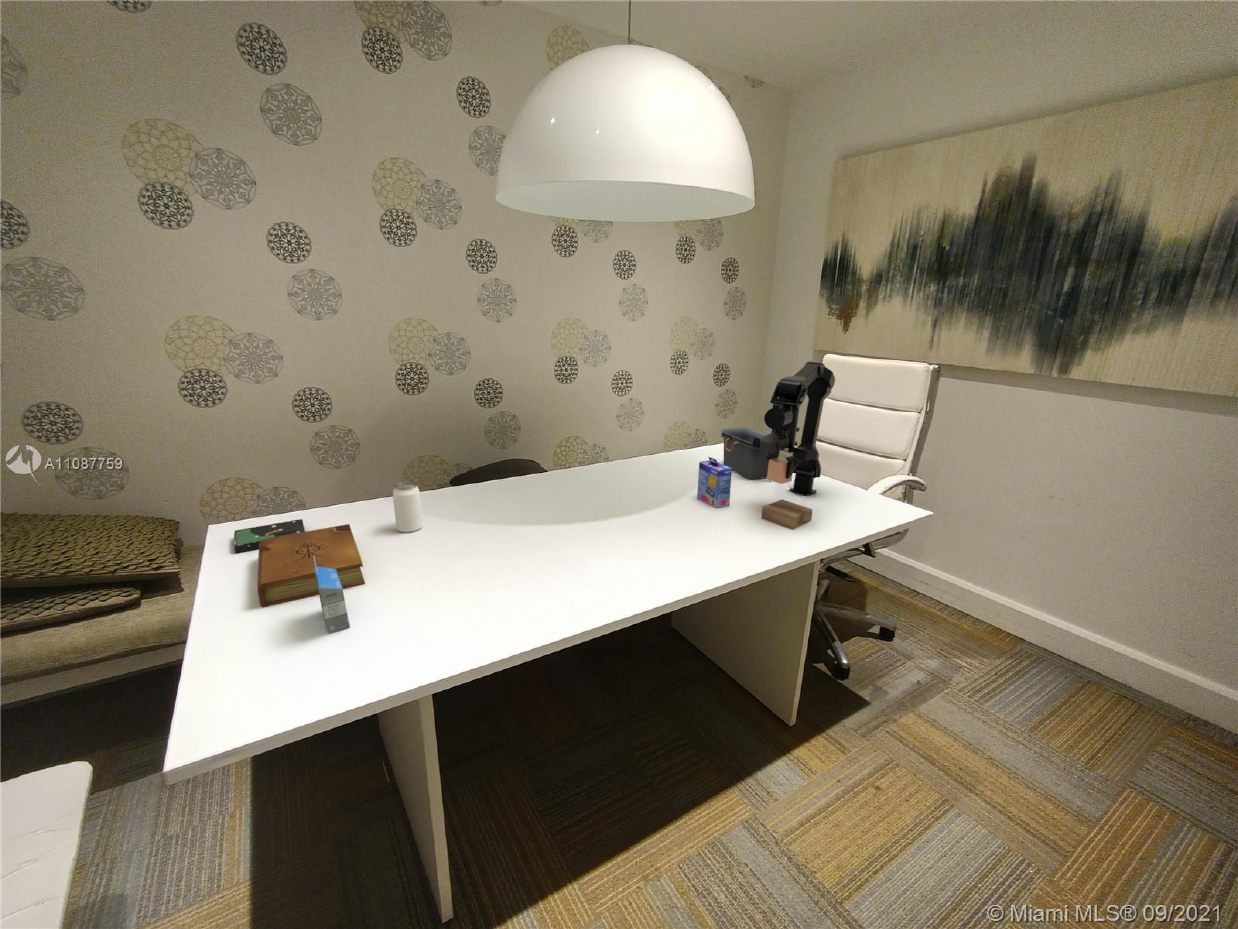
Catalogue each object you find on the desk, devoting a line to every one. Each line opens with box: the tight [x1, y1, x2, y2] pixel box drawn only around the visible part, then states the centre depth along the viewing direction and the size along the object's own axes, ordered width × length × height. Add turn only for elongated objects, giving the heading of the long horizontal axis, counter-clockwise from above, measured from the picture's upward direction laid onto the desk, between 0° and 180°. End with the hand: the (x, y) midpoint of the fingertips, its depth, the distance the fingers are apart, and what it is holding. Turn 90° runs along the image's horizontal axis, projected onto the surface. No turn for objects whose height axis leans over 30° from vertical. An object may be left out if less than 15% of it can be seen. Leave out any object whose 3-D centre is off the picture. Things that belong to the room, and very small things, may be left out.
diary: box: [256, 523, 366, 608], centre depth 118 cm, size 23×19×6 cm
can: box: [392, 481, 423, 534], centre depth 140 cm, size 6×6×12 cm
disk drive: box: [233, 518, 306, 555], centre depth 133 cm, size 10×3×15 cm
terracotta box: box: [766, 456, 794, 485], centre depth 156 cm, size 5×5×6 cm
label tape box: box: [314, 555, 351, 634], centre depth 100 cm, size 9×4×12 cm, turn 33°
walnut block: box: [761, 499, 813, 530], centre depth 154 cm, size 10×10×4 cm
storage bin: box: [720, 426, 769, 480], centre depth 194 cm, size 21×16×14 cm
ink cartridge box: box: [696, 456, 733, 509], centre depth 164 cm, size 10×6×14 cm, turn 30°
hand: (779, 476), depth 156 cm, fingers closed on terracotta box, 5 cm apart
